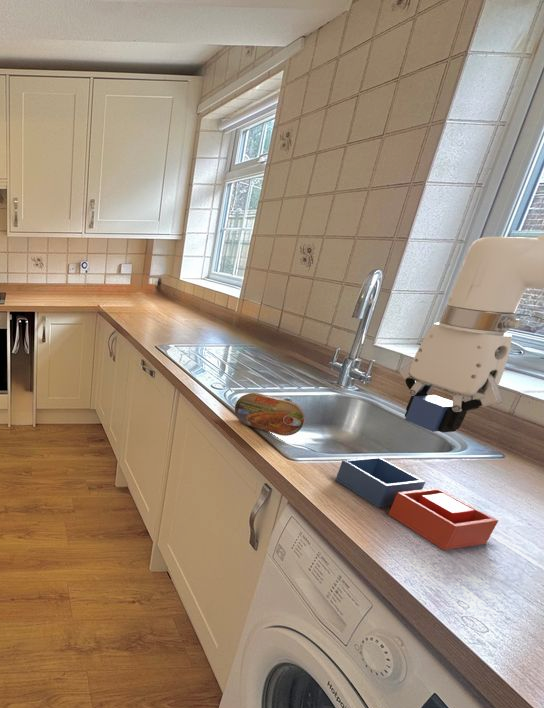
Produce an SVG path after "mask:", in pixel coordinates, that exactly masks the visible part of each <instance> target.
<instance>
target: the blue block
mask: <svg viewBox="0 0 544 708" xmlns="http://www.w3.org/2000/svg"><path fill="white" fill-rule="evenodd" d="M452 402H453V400H451V399H448V398H444V397H442V396H439V395H436V394H429V395H428V394H427V396H414V398H413V401H412V403H411V406H410V408H409V411H408V413H407V415H406V417H405V418H404V420H405V421H406V422H409V423H411V424H413V425H417V426H418V427H420V428H423V429H425V430H428V431H430V432H432V433H435V432H436V433H437V432H439V431H438V428H439V426H440V423H441V421H442V419H443V417H444V414H445V412H446V410H447V409H451V408H452Z"/></svg>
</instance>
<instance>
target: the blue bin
mask: <svg viewBox="0 0 544 708" xmlns="http://www.w3.org/2000/svg"><path fill="white" fill-rule="evenodd" d="M335 481H336V482H338V483H339V484H341V485H343V486H344V487H345V488H347V489H348V490H350V491H352V492H353V493H355V494H356V495H357V496H359V497H361V498H363V499H364V500H365V501H367V502H369V503H370V504H371V505H373V506H375V507H376V508H378V509H379V508H385V507H386V508H387V507H392V504H393V502H394V500H395V497H396V495H397V493H398V492H405V491H414V490H422V489H424V486H425V484H426V481H425V480H423V479H422V478H420V477H418V476H416V475H414V474H412V473H411V472H409V471H407V470H405V469H403V468H401V467H399V466H397V465H395V464H393V463H391V462H390V461H388V460H386V459H384V458H382V457H381V456H369V457H359V458H350V459H348V458H347V459H342V460H341V463H340V466H339V469H338V472H337V474H336V478H335Z"/></svg>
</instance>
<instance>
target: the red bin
mask: <svg viewBox="0 0 544 708" xmlns="http://www.w3.org/2000/svg"><path fill="white" fill-rule="evenodd" d="M440 493H443V494H445V495H447V496H449V497H451V498H453V499H455V500H456V501H458V502H460V503H462V504H464V505H466V506H468V507H469V508H471V509H473V510H475V511H474V513H473V515H472V517H471V519H470V521H469V522H464V523H457V524H454V523H452V522H451V521H449V520H447V519H445V518H444V517H442V516H440V515H439V514H437V513H435V512H433V511H432V510H430V509H428V508H427V507H425V506H423V505H421V504H420V503H419V500H420V498H421V496H424V495H432V494H440ZM388 516H390V517H392V518H394V519H395V520H397V521H398V522H399V523H401V524H403V525H404V526H406V527H407V528H409V529H410V530H412V531H413V532H414V533H417V534H418V535H420V536H421V537H422V538H424V539H426V540H427V541H429V542H430V543H432V544H433V545H435V546H437V547H438V548H440V550H443V551H448V550H455V549H462V548H466V547H473V546H480V545H486V544H487V543H488V541H489V540H490V537H491V535H492V534H493V532H494V531H495V528H496V526H497V524H498V522H499V520H498V519H497V518H495V517H493V516H491V515H489V514H487V513H485V512H483V511H481V510H480V509H478V508H476V507H474V506H472V505H471V504H469V503H466V502H465V501H464V500H461V499H460V498H458V497H455V496H453V495H452V494H449V493H448V492H446V491H444V490H443V489H441V488H438V487H432V488H423V489H422V490H414V491H405V492H398V493H397V495H396V497H395V500H394V502H393V504H392V506H390V509H389V512H388Z"/></svg>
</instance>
